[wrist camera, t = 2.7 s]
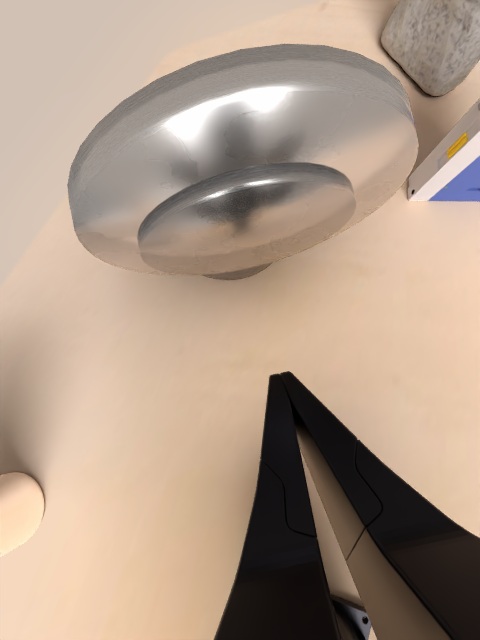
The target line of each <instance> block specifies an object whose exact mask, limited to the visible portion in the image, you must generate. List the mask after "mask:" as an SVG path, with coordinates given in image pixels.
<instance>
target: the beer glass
mask: <svg viewBox="0 0 480 640" xmlns="http://www.w3.org/2000/svg"><path fill="white" fill-rule="evenodd" d="M43 513H44V496H43V493H42V490H41V488H40V486H39V485H38V483H37V482H36V481H35V480H34V479H33V478H32V477H30V476H29V475H27V474H24V473H20V472H11V473H6V474H3V475H1V476H0V557H2V556H3V555H5V554H7V553H8V552H10V551H12V550H14V549H15V548H17V547H19V546H20V545H22V544H23V543H25V542H26V541H27V540H29V539H30V538H31V537H32V535H33V534H34V533H35V532H36V530H37V529H38V527H39V525H40V523H41V520H42V517H43Z"/></svg>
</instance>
